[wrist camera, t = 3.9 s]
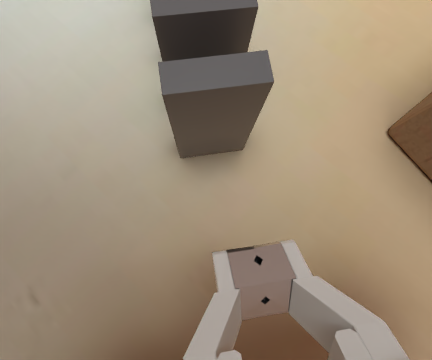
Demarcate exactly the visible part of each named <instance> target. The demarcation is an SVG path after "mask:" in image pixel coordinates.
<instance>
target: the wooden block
mask: <svg viewBox="0 0 432 360" xmlns="http://www.w3.org/2000/svg"><path fill="white" fill-rule="evenodd" d="M388 133H389V135H390V136H391V137H392V138H393V139H394V140H395V142H396V143H397V144H398V145H399V146H400V147H401V148H402V149H403V150H404V151H405V152H406V153H407V154H408V156H409V157H410V158H411V159H412V160H413V161H414V162H415V163H416V164H417V165H418V166H419V167H420V168H421V169H422V171H423V172H424V173H425V174H426V175H427V176H428V177H429V178H430V179H431V180H432V93H431V94H429V95H428V96H427V97H426V98H425V99H423V100H422V101H421V102H420V103H419V104H417V105H416V106H415V107H414V108H413V109H412V110H410V111H409V112H408V113H407V114H406V115H404V116H403V117H402V118H401V119H400V120H398V121H397V122H396V123H395V124H394V125H393V126H391V128H390V130H389V131H388Z"/></svg>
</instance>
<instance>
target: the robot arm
mask: <svg viewBox="0 0 432 360" xmlns="http://www.w3.org/2000/svg"><path fill="white" fill-rule="evenodd" d="M212 256H213V264H214V272H215V280H216V287H217V293H214V295H213V297H212V299H211V301H210V303H209V305H208V307H207V309H206V311H205V313H204V315H203V318H202V320H201V322H200V324H199V326H198V328H197V330H196V332H195V334H194V336H193V338H192V340H191V343H190V345H189V347H188V349H187V351H186V353H185V355H184V357H183V360H242V357H241V354H240V353H239V352H237V351H236V350H233V348H234V345H235V342H236V339H237V336H238V333H239V329H240V326H241V323H242V320H247V319H252V318H257V317H262V316H267V315H274V314H281V313H287V312H289V314H290V315H291V316H292V317H293V318H294V319H295V320H296V321H297V322H298V323H299V324H300V325H301V326H302V327H303V328H304V329H305V330H306V331H307V332H308V333H309V334H310V335H311V336H312V337H313V338H314V339H315V340H316V341H317V342H318V343H319V344H320V345H321V346H322V347H323V348H324V349H325V350H326V351H327V352H328V353H329V356H328V359H327V360H410V359H409V358H408V356H407V355H406V353H405V352H404V350H403V348H402V347H401V345H400V344H399V342H398V341H397V339H396V338H395V336H394V335H393V333H392V332H391V330H390V329H389V327H388V326H387V324H386V323H385V321H383V320H382V319H380V318H379V317H378V316H376V315H375V314H373V313H372V312H370V311H369V310H367V309H366V308H364V307H363V306H361V305H360V304H358V303H357V302H355V301H354V300H353V299H351V298H350V297H348V296H347V295H345V294H344V293H342V292H341V291H339V290H338V289H336V288H335V287H333V286H332V285H330V284H329V283H327V282H326V281H325V280H323V279H322V278H320V277H319V276H313V275H312V273H311V271H310V269H309V267H308V265H307V264H306V262H305V260H304V258H303V256H302V254H301V252H300V250H299V248H298V246H297V244H296V242H295V241H294V240H286V241H280V242H273V243H267V244H262V245H256V246H252V247H245V248H237V249H230V250H224V251H217V252H212Z"/></svg>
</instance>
